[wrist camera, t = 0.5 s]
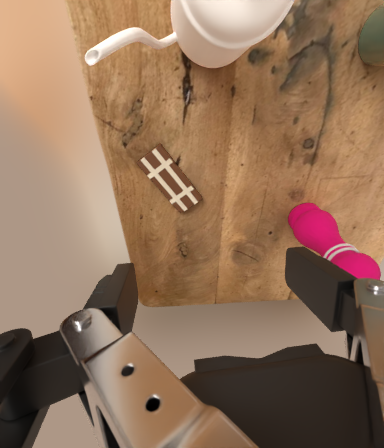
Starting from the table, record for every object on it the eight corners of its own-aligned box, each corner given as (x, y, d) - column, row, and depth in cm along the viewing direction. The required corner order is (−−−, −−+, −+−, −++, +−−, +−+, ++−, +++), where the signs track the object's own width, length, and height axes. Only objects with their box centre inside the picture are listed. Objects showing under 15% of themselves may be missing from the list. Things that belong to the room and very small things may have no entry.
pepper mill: (321, 225, 47) (400, 306, 30) (286, 234, 48) (344, 318, 31) (321, 195, 43) (411, 269, 26) (283, 206, 44) (346, 284, 27)
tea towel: (137, 161, 38) (136, 163, 37) (160, 142, 37) (159, 144, 36) (180, 210, 44) (180, 213, 43) (201, 196, 42) (202, 199, 41)
